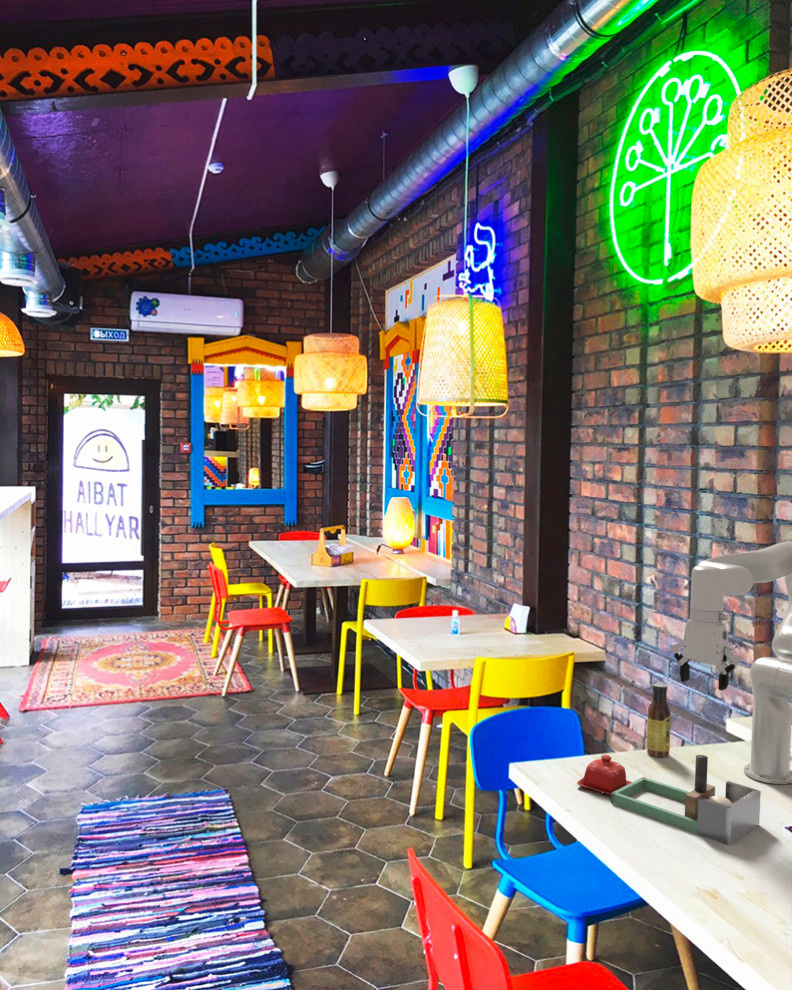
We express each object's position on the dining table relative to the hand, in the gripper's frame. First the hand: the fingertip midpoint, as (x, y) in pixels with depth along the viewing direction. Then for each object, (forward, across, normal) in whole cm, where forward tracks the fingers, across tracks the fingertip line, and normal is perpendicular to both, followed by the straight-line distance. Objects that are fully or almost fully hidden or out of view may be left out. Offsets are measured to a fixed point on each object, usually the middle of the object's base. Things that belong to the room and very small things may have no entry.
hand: (703, 685), depth 205 cm
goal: (+28, -13, +12) cm, 33 cm away
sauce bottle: (+29, +22, -20) cm, 41 cm away
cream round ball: (+29, -11, +12) cm, 33 cm away
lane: (+28, +2, +12) cm, 31 cm away
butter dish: (+29, +19, +12) cm, 37 cm away
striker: (+28, -6, +12) cm, 31 cm away
